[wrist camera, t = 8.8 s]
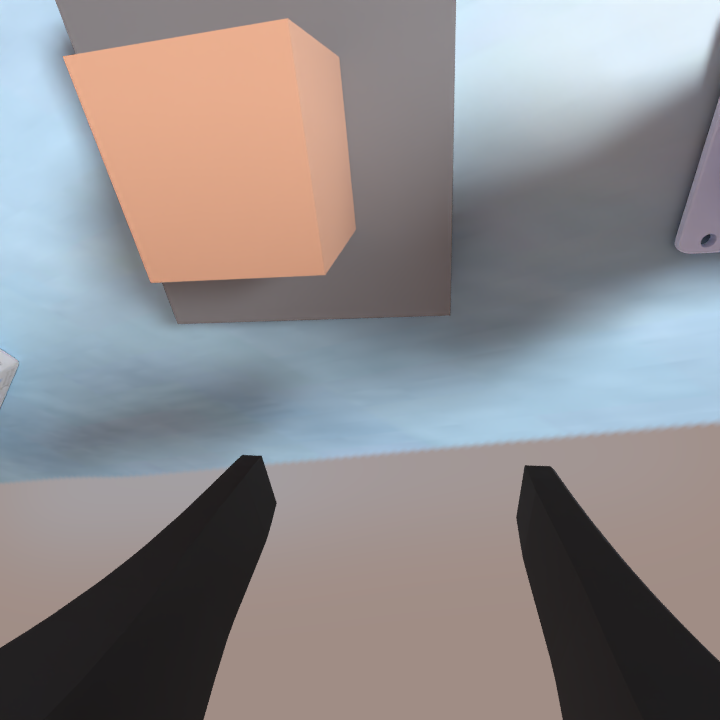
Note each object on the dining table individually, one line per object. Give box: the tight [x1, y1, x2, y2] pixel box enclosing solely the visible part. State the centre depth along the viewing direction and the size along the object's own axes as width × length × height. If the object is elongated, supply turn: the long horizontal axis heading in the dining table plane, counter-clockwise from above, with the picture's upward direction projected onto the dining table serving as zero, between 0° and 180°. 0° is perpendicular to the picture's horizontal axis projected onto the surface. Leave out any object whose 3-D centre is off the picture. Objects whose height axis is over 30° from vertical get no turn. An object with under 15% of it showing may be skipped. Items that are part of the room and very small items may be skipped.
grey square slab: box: [55, 0, 456, 324], centre depth 15 cm, size 12×12×4 cm
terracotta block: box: [63, 18, 356, 283], centre depth 11 cm, size 5×5×5 cm
